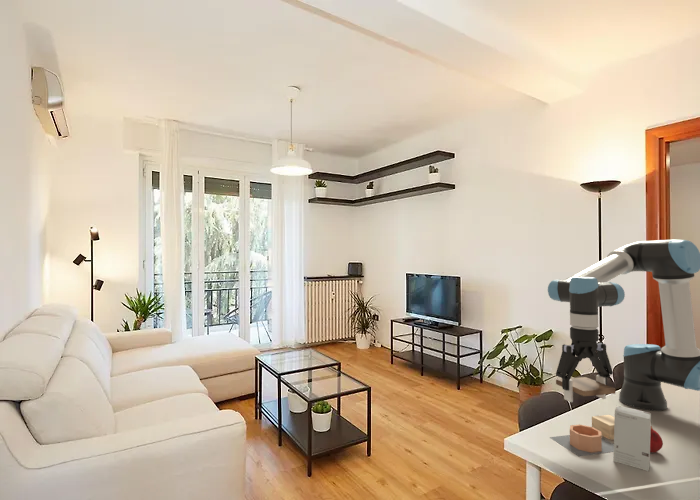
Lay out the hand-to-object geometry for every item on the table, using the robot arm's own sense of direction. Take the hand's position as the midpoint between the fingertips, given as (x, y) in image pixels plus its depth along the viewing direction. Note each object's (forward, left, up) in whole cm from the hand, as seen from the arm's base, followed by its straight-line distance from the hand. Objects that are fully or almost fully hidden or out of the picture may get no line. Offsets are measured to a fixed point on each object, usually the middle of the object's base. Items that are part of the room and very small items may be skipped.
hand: (584, 399), depth 119 cm
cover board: (0, 0, +3) cm, 3 cm away
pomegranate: (-16, +7, -15) cm, 23 cm away
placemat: (-1, -1, -15) cm, 15 cm away
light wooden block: (-14, -5, -15) cm, 21 cm away
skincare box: (-5, +11, -15) cm, 19 cm away
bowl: (0, 0, -14) cm, 14 cm away
